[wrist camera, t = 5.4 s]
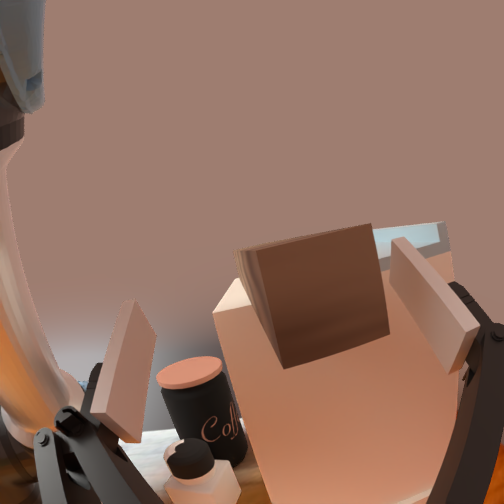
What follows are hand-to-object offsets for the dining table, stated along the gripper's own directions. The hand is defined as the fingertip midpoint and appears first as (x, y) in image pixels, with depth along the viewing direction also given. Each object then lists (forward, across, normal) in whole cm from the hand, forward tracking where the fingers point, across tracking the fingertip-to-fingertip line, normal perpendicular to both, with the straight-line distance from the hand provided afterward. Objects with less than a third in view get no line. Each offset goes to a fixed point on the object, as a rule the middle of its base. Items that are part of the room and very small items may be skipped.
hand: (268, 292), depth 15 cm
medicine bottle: (-3, -14, -36) cm, 39 cm away
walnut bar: (+8, 0, -7) cm, 11 cm away
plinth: (0, +6, -37) cm, 37 cm away
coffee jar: (+8, -15, -42) cm, 45 cm away
